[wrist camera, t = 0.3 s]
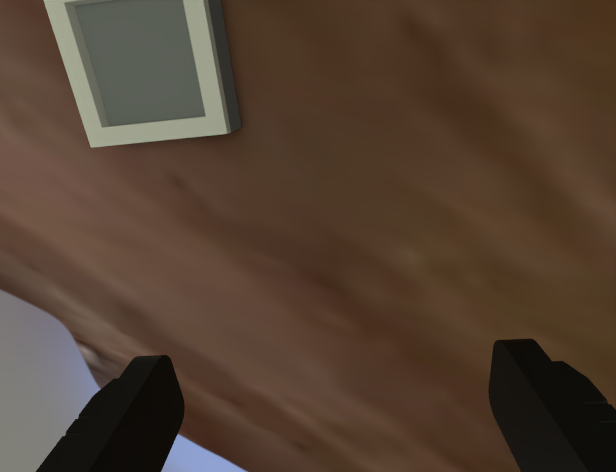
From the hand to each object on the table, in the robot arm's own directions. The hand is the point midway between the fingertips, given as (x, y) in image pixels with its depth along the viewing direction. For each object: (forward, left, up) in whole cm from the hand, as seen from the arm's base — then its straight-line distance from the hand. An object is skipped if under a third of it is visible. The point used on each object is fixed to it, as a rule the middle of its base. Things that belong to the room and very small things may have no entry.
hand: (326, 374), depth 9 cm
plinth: (-10, -14, -28) cm, 33 cm away
